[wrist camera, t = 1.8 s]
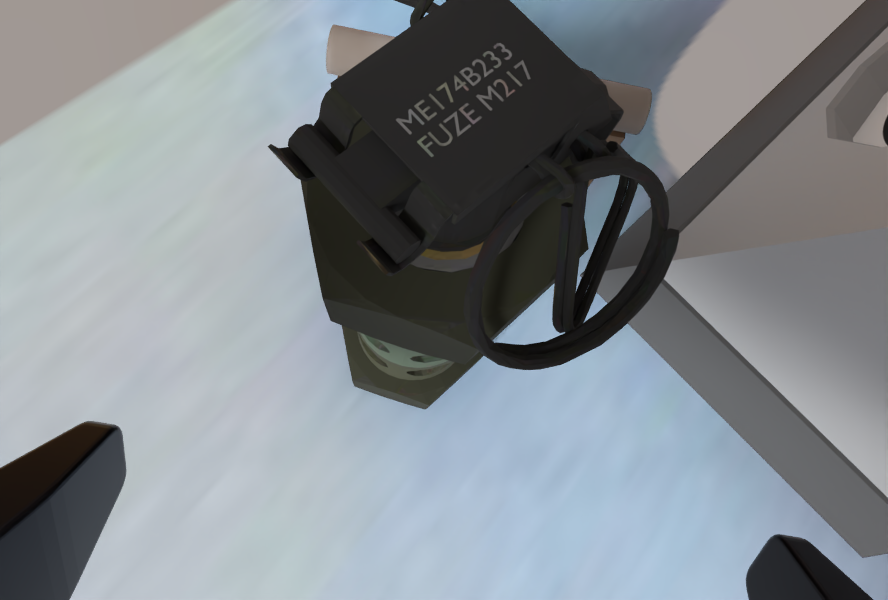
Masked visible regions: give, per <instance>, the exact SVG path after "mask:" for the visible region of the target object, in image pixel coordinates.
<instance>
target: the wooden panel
mask: <svg viewBox="0 0 888 600" xmlns="http://www.w3.org/2000/svg"><path fill="white" fill-rule="evenodd" d="M394 38H395V37H392V36H387V35H383V34H378V33H373V32H368V31H363V30H358V29H353V28H348V27H343V26H338V25H333V26H332V28H331V30H330V34H329V38H328V44H327V53H326V68H327V72H328V74H333V75H338V78H339V77H340V76H342V75H343V74H344V73H346V72H347V71H349V70H350V69H351V68H353V67H354V66H356V65H357V64H358V63H360V62H361V61H363V60H364V59H366V58H367V57H368V56H370V55H371V54H373V53H374V52H375V51H377V50H378V49H380V48H381V47H383V46H384V45H385V44H387V43H388V42H390V41H391V40H392V39H394ZM600 80H601V81H602V82H603V83H604V84H605V85H606V87H607V90H608V94H609V96H610V97H611V98H612V99H613V100H614V101H615V102H616V103H617V104H618V105H619V106H620V107H621V108H622V109H623V111H624V113H623V115H622V118H621V120H620V121H619V122H618V124H617V125H616V127H615V128H614V129H613V131H612V132H611V134H610V135H609V137H608V138H607V139H606V141H607V142H609V141H615V142H617V143H618V144H619V145H620V144H621V143H622V141H623V140H624V139H625V133H630V134H635V135H637V134H639V133H640V132H641V130H642V129H643V127H644V125H645V123H646V120H647V117H648V114H649V111H650V107H651V100H652V93H651V90H650V89H648V88H643V87H638V86H633V85H628V84H623V83H618V82H613V81H608V80H603V79H600ZM593 180H594V179H592V180H589V184H588V186H589V185H590V184H591V182H592V181H593Z"/></svg>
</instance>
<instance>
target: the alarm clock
mask: <svg viewBox="0 0 888 600" xmlns="http://www.w3.org/2000/svg"><path fill="white" fill-rule="evenodd" d="M666 195H667V197H668V203H669V222H668V229H670V228H672V229H676V230H679V240H678V245H677V250H676V252H675V255H674V257H673V259H672V262H671V264H670V266H669V269H668V271H667V273H666V275H665V277H664V279H663V280H662V282H661V283H660V285H659V286H658V288H657V289H656V291H655V292H654V294H653V295H652V297H651V298H650V300H649V301H648V302H647V303H646V304H645V306H644V307H643V308H642V309H641V310H640V311H639V312H638V313H637V315H636V316H634V317H633V318H632V319H631V320H630V321H629V322H628V324H629V325H630V326H631V327H632V328H633V329H634V330H635V331H636V332H637V333H638V334H639V335H640V336H641V337H642V338H643V339H644V340H645V341H646V342H647V343H648V344H649V345H650V346H651V347H652V348H653V349H654V350H655V351H656V352H657V353H658V354H659V355H660V356H661V357H662V358H663V359H664V360H665V361H666V362H667V363H668V364H669V365H670V366H671V367H672V368H673V369H674V370H675V371H676V372H677V373H678V374H679V375H680V376H681V377H682V378H683V379H684V380H685V381H686V382H687V383H688V384H689V385H690V386H691V387H692V388H693V389H694V390H695V391H696V392H697V393H698V394H699V395H700V396H701V397H702V398H703V399H704V400H705V401H706V402H707V403H708V404H709V405H710V406H711V407H712V408H713V409H714V410H715V411H716V412H717V413H718V414H719V415H720V416H721V417H722V418H723V419H724V420H725V421H726V422H727V423H728V424H729V425H730V426H731V427H732V428H733V429H734V430H735V431H736V432H737V433H738V434H739V435H740V436H741V437H742V438H743V439H744V440H745V441H746V442H747V443H748V444H749V445H750V446H751V447H752V448H753V449H754V450H755V451H756V452H757V453H758V454H759V455H760V456H761V457H762V458H763V459H764V460H765V461H766V462H767V463H768V464H769V465H770V466H771V467H772V468H773V469H774V470H775V471H776V472H777V473H778V474H779V475H780V476H781V477H782V478H783V479H784V480H785V481H786V482H787V483H788V484H789V485H790V486H791V487H792V488H793V489H794V490H795V491H796V492H797V493H798V494H799V495H800V496H801V497H802V498H803V499H804V500H805V501H806V502H807V503H808V504H809V505H810V506H811V507H812V508H813V509H814V510H815V511H816V512H817V513H818V514H819V515H820V516H821V517H822V518H823V519H824V520H825V521H826V522H827V523H828V524H829V525H830V526H831V527H832V528H833V529H834V530H835V531H836V532H837V533H838V534H839V535H840V536H841V537H842V538H843V539H844V540H845V541H846V542H847V543H848V544H849V545H850V546H851V547H852V548H853V549H854V550H855V551H856V552H857V553H858V554H859V555H860V556H861V557H862V558H865V557H870V556H876V555H882V554H888V0H866V1H864V2H863V3H862V4H861V5H860V6H859V7H858V8H857V9H856V10H855V11H854V12H853V13H852V14H851V15H850V16H849V17H848V18H847V19H846V20H845V21H844V22H843V23H841V24H840V25H839V26H838V27H837V28H836V29H835V30H834V31H833V32H832V33H831V34H830V35H829V36H828V37H827V38H826V39H825V40H824V41H823V42H822V43H821V44H820V45H819V46H818V47H816V48H815V49H814V50H813V51H812V52H811V53H810V54H809V55H808V56H807V57H806V58H805V59H804V60H803V61H802V62H801V63H800V64H799V65H798V66H797V67H796V68H795V69H794V70H792V72H790V73H789V74H788V75H787V76H786V77H785V78H784V79H783V80H782V81H781V82H780V83H779V84H778V85H777V86H776V87H775V88H774V89H773V90H772V91H771V92H770V93H769V94H767V95H766V96H765V97H764V98H763V99H762V100H761V101H760V102H759V103H758V104H757V105H756V106H755V107H754V108H753V109H752V110H751V111H750V112H749V113H748V114H747V115H746V116H745V117H744V118H742V119H741V120H740V121H739V122H738V123H737V124H736V125H735V126H734V127H733V128H732V129H731V130H730V131H729V132H728V133H727V134H726V135H725V136H724V137H723V138H722V139H720V140H719V141H718V142H717V143H716V144H715V145H714V146H713V147H712V148H711V149H710V150H709V151H708V152H707V153H706V154H705V155H704V156H703V157H702V158H701V159H700V160H699V161H698V162H697V163H696V164H695V165H693V166H692V167H691V168H690V169H689V170H688V171H687V172H686V173H685V174H684V175H683V176H682V177H681V178H680V180H679V181H678V182H677V183H676V184H675V185H673V186H672V187H671V188H670V189H669V190H668V191H667V192H666ZM651 224H652V208H650V209H648V210H647V211H646V212H645V213H644V214H643V215H642V216H641V217H640V218H639V219H638V220H637V221H636V222H635V223H634V224H633V225H632V226H631V227H630V228H629V229H628V230H627V231H626V232H625V233H623V234H622V235H621V236H620V237H619V238H618V239H617V242H616V244H615V247H614V249H613V252H612V254H611V257H610V259H609V262H608V264H607V267H606V269H605V272H604V274H603V277H602V279H601V282H600V284H599V287H598V289H597V293H598V294H599V295H600V296H601V297H602V298H603V299H604V300H605V301H606V302H607V303H609V302H610V301H611V300H612V299H613V298H614V297H615V296H616V295H617V294H618V292H619V291H620V290H621V289H622V287H623V286H624V285H625V283H626V282H627V281H628V280H629V278H630V277H631V276H632V274H633V273H634V271H635V269H636V268H637V266H638V264H639V262H640V260H641V257H642V255H643V253H644V250H645V248H646V246H647V243H648V241H649V238H650V232H651ZM668 229H667V230H668ZM598 262H599V261H598ZM596 267H597V266H596ZM584 272H585V271H584ZM584 272H583V273H582V274H581V275H580V276H581V277H582V276H583V274H584ZM594 272H595V271H594ZM591 279H592V278H591ZM589 284H590V283H589Z"/></svg>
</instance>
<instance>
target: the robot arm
mask: <svg viewBox="0 0 888 600" xmlns="http://www.w3.org/2000/svg"><path fill="white" fill-rule="evenodd" d="M125 477H126V462H125V453H124V444H123V435H122V431H121V429H120V428H119V427H118V426H116V425H113V424H107V423H101V422H94V421H87V422H84V423H81V424H79V425H77V426H76V427H74V428H72V429H70V430H68V431H66V432H65V433H63V434H61V435H59V436H57V437H56V438H54V439H52V440H50V441H48V442H46V443H45V444H43V445H41V446H39V447H37V448H36V449H34V450H32V451H30V452H28V453H26V454H25V455H23V456H21V457H19V458H17V459H16V460H14V461H12V462H10V463H8V464H6V465H5V466H3V467H1V468H0V600H69V599H70V598H71V596H72V594H73V592H74V590H75V588H76V586H77V584H78V582H79V579H80V577H81V575H82V573H83V571H84V569H85V567H86V564H87V562H88V560H89V558H90V556H91V554H92V552H93V549H94V547H95V545H96V543H97V541H98V539H99V537H100V534H101V532H102V530H103V528H104V526H105V524H106V521H107V519H108V517H109V515H110V513H111V511H112V509H113V506H114V504H115V502H116V500H117V498H118V496H119V493H120V491H121V489H122V487H123V484H124V481H125ZM746 587H747V593H748V598H749V600H873V599H872V598H871V597H870V596H869V595H868V594H866V593H865V592H864V591H863V590H862V589H861V588H860V587H859V586H858V585H857V584H855V583H854V582H853V581H852V580H851V579H850V578H849V577H848V576H847V575H845V574H844V573H843V572H842V571H841V570H840V569H839V568H838V567H837V566H835V565H834V564H833V563H832V562H831V561H830V560H829V559H828V558H827V557H826V556H824V555H823V554H822V553H821V552H820V551H819V550H818V549H817V548H816V547H814V546H813V545H812V544H811V543H810V542H809V541H807V540H805V539H802V538H798V537H792V536H786V535H780V534H778V535H774V536H772V537H771V538H770V539H769V540H768V541H767V543H766V544H765V545H764V547H763V548H762V550H761V551H760V553H759V554H758V556H757V557H756V559H755V560H754V562H753V563H752V564H751V566H750V567H749V569H748V572H747V577H746Z"/></svg>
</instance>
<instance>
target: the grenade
mask: <svg viewBox="0 0 888 600" xmlns="http://www.w3.org/2000/svg"><path fill="white" fill-rule="evenodd" d="M395 1H398V2H400V3H403V4H406V5H409V6H411V7H414V8H415V9H414V11H413V13H412V15H411V18H410V24H411V27H409V28H408V29H407V30H405V31H404V32H402V33H401V34H400V35H398V36H397V37H395V38H394V39H392V40H391V41H390V42H388V43H387V44H385V45H384V46H383V47H381V48H380V49H378V50H377V51H375V52H374V53H373V54H371V55H370V56H368V57H367V58H366V59H364V60H363V61H361V62H360V63H358V64H357V65H356V66H354V67H353V68H351V69H350V70H349V71H347V72H346V73H344V74H343V75H342V76H340V77H339V78H337V79H336V80H334V81H333V82H332V83H331V89H330V90H329V91H328V92H327V93H326V94H325V96H324V98H323V100H322V103H321V108H320V114H319V118H318V120H317V121H316V123H315V124H314V126H313V125H312V124H305V125H303V126H301V127H299V128H298V129H297V130H296V131H295V132H294V134H293V135H292V136H291V137H290V138H289V142H288V146H289V147H286V148H277V147H275V146H273V145H272V144H270V145H269V146H268V147H269V148H270V150H271V151H272V152H273V153H274V154H275V155H276V156H277V157H278V158H279V159H280V160H281V161H282V163H283V164H284V165H285V166H286V167H287V168H288V169H289V170H290V171H291V172H292V173H293V174H294V176H295V177H296V178H298V179H300V180H301V185H302V190H303V196H304V202H305V208H306V214H307V219H308V225H309V230H310V236H311V242H312V247H313V253H314V258H315V263H316V268H317V273H318V278H319V283H320V287H321V292H322V297H323V301H324V303H325V306H326V309H327V312H328V315H329V317H330V320H331V321H333V322H335V323H338V324H340V325H342V329H343V334H344V339H345V345H346V350H347V355H348V361H349V366H350V371H351V376H352V381H353V383H354V386H355V387H358V388H361V389H364V390H366V391H369V392H372V393H374V394H377V395H380V396H383V397H386V398H389V399H392V400H396V401H399V402H402V403H405V404H408V405H412V406H415V407H419V408H422V409H427V408H428V407H429V406H430V405H431V404H432V403H433V402H434V401H436V400H437V399H438V398H439V397H440V396H441V395H442V394H443V393H444V392H445V391H446V390H448V389H449V388H450V387H451V386H452V385H453V384H454V383H455V382H456V381H457V380H458V379H459V378H461V377H462V376H463V375H464V374H465V373H466V372H467V371H468V370H469V369H470V368H471V367H472V366H473V365H475V364H476V363H477V362H478V361H479V360H480V359H481V358H482V357H483V356H486V357H487V358H489V359H490V360H492V361H493V362H495V363H497V364H498V365H501V366H505V367H508V368H514V369H521V370H537V369H544V368H548V367H553V366H557V365H562V364H564V363H566V362H568V361H570V360H572V359H574V358H576V357H578V356H580V355H582V354H584V353H586V352H588V351H590V350H592V349H594V348H596V347H598V346H600V345H602V344H603V343H604V342H606V341H607V340H608V339H609V338H611V337H612V336H613V335H614V334H615V333H617V332H618V331H619V330H620V329H622V328H623V327H624V326H625V325H626V324H627V323H628V322H629V321H630V320H631V319H632V318H633V317H634V316H636V315H637V313H638V312H639V311H640V310H641V309H642V308H643V307H644V306H645V304H646V303H647V302H648V301H649V300H650V298H651V297H652V295H653V294H654V292H655V291H656V289H657V288H658V286H659V285H660V283H661V282H662V280H663V279H664V277H665V275H666V273H667V271H668V269H669V266H670V264H671V262H672V259H673V257H674V255H675V252H676V250H677V245H678V240H679V230H676V229H672V228H670V229H668V222H669V203H668V197H667V195H666V192H665V190H664V187H663V184H662V183H661V181H660V180H659V178H658V177H657V176H656V175H655V174H654V173H653V172H652V171H651V170H650V169H649V168H648V167H646V166H645V165H643V164H642V163H640V162H637V161H635V160H634V159H633V158H632V157H631V156H630V155H629V154H628V153H627V152H626V151H625V150H624V149H623V148H622V147H621V146H620V145H619V144H618V143H617V142H615V141H609V142H607V141H606V139H607V138H608V137H609V135H610V134H611V132H612V131H613V129H614V128H615V127H616V125H617V124H618V122H619V121H620V120H621V118H622V115H623V113H624V111H623V109H622V108H621V107H620V106H619V105H618V104H617V103H616V102H615V101H614V100H613V99H612V98H611V97H610V96H609V94H608V90H607V87H606V85H605V84H604V83H603V82H602V81H601V80H600V79H599V78H598V77H597V76H596V75H595V74H594V73H593V72H592V71H589V70H586V69H582V68H580V67H579V66H577V65H576V64H575V63H574V62H573V61H572V60H571V59H570V58H569V57H568V56H566V55H565V54H564V53H563V52H562V51H561V50H560V49H559V48H558V47H557V46H556V45H555V44H554V43H553V42H552V41H551V40H550V39H549V38H548V37H547V36H546V35H545V34H544V33H543V32H542V31H541V30H540V29H539V28H538V27H537V26H536V25H535V24H534V23H532V22H531V21H530V20H529V19H528V18H527V17H526V16H525V15H524V14H523V13H522V12H521V11H520V10H519V9H518V8H517V7H516V6H515V5H514V4H513V3H512V2H511V1H510V0H446V2H445V3H443V4H442V5H441V6H439V5H437V4H435V3H433V1H434V0H395ZM426 12H427V13H429V14H428V15H426V16H425V17H424V15H425V13H426ZM423 17H424V18H423ZM609 175H620V179H619V184H618V188H617V191H616V194H615V197H614V201H613V203H612V206H611V208H610V211H609V213H608V216H607V218H606V220H605V223H604V225H603V228H602V230H601V233H600V235H599V237H598V240H597V242H596V245H595V247H594V250H593V252H592V254H591V257H590V259H589V262H588V264H587V267H586V269H585V272H584V274H583V276H582V279H581V281H580V284H579V286H578V289H577V291H576V283H577V275H578V266H579V258H580V257H581V256H582V255H583V254H584V253H585V252H586V251H587V250H588V242H587V235H586V228H585V221H584V213H585V204H586V195H587V189H588V184H589V180H592V179H596V178H600V177H605V176H609ZM628 181H629V183H628ZM638 183H639V184H640V185H642V186H643V188H644V189H645V191H646V192H647V194H648V196H649V197H650V199H651V208H652V224H651V232H650V238H649V241H648V243H647V246H646V248H645V250H644V253H643V255H642V257H641V260H640V262H639V264H638V266H637V268H636V269H635V271H634V273H633V274H632V276H631V277H630V278H629V280H628V281H627V282H626V283H625V285H624V286H623V287H622V289H621V290H620V291H619V292H618V294H617V295H616V296H615V297H614V298H613V299H612V300H611V301H610V302H609V303H608V304H607V305H605V306H604V307H603V308H602V309H601V310H600V311H599V312H598V313H597V314H596V315H594V316H593V317H591V318H590V319H588V320H587V321H586V322H584V320H585V318H586V316H587V313H588V311H589V309H590V306H591V304H592V302H593V299H594V297H595V294H596V292H597V289H598V287H599V284H600V282H601V279H602V277H603V274H604V272H605V269H606V267H607V264H608V262H609V259H610V257H611V254H612V252H613V249H614V247H615V244H616V242H617V239H618V237H619V234H620V232H621V229H622V227H623V224H624V222H625V219H626V217H627V214H628V212H629V209H630V206H631V203H632V201H633V198H634V195H635V192H636V189H637V185H638ZM627 186H628V187H627ZM626 190H627V191H626ZM625 193H626V194H625ZM624 196H625V197H624ZM623 199H624V200H623ZM622 202H623V203H622ZM620 207H621V208H620ZM667 229H668V230H667ZM598 261H599V262H598ZM596 266H597V267H596ZM594 271H595V272H594ZM591 278H592V279H591ZM554 283H555V286H554V298H553V318H552V320H553V326H554V327H555V329H556V331H558V332H559V333H562V332H565V334H562V335H560V336H558V337H555V338H553V339H551V340H548V341H546V342H540V343H534V344H528V345H515V344H505V343H494V342H493V341H492V340H493V339H494V338H495V337H496V336H497V335H498V334H500V333H501V332H502V331H503V330H504V329H505V328H506V327H507V326H508V325H509V324H510V323H512V322H513V321H514V320H515V319H516V318H517V317H518V316H519V315H520V314H521V313H522V312H524V311H525V310H526V309H527V308H528V307H529V306H530V305H531V304H532V303H533V302H534V301H535V300H536V299H538V298H539V297H540V296H541V295H542V294H543V293H544V292H545V291H546V290H547V289H548V288H549V287H550V286H552V285H553V284H554ZM589 283H590V284H589ZM587 288H588V289H587ZM575 292H576V293H575ZM584 295H585V296H584ZM583 322H584V323H583Z"/></svg>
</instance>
